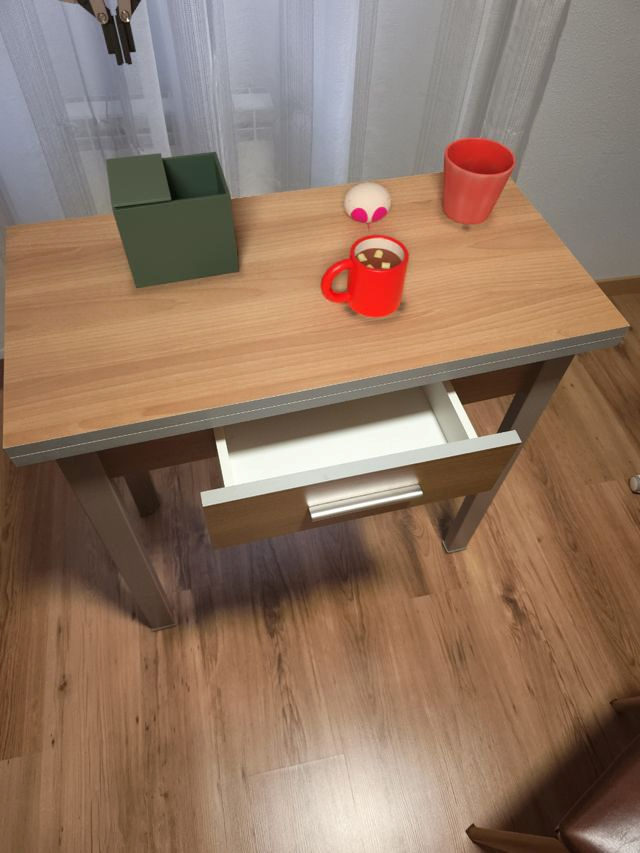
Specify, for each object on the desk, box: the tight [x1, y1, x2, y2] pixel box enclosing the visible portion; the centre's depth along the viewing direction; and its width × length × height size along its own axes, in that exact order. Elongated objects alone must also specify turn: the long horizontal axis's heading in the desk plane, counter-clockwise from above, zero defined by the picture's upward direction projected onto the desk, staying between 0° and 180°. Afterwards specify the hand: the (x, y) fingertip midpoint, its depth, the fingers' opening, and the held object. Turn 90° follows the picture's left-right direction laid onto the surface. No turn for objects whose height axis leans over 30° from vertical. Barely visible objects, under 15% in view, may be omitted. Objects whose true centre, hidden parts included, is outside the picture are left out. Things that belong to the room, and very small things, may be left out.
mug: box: [320, 234, 410, 318], centre depth 78 cm, size 8×12×8 cm, turn 110°
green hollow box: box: [111, 151, 240, 289], centre depth 81 cm, size 15×11×12 cm
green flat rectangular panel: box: [105, 152, 171, 208], centre depth 75 cm, size 7×11×1 cm
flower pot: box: [442, 137, 516, 226], centre depth 91 cm, size 11×11×10 cm
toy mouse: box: [343, 181, 392, 232], centre depth 91 cm, size 8×8×7 cm
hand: (124, 59), depth 63 cm, fingers closed
